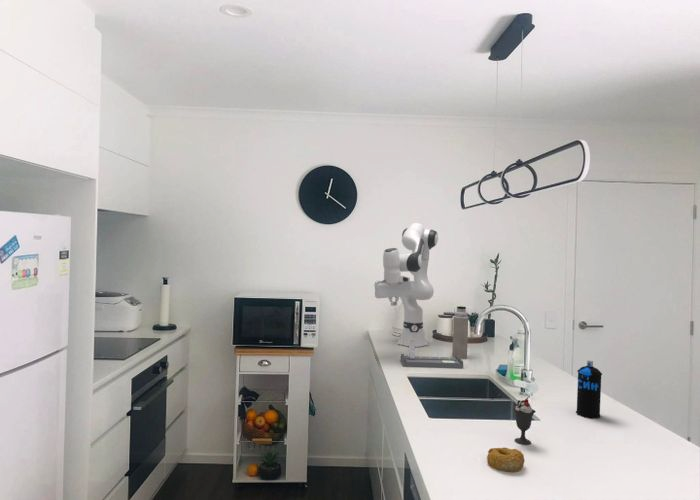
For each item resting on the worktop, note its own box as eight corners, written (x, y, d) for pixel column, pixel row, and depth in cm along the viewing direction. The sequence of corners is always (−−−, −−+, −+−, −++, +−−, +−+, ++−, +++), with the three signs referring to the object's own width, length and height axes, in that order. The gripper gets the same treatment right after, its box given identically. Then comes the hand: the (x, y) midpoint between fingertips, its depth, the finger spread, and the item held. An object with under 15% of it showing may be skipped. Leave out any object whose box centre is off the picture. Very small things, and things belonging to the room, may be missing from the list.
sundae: (532, 448, 146) (533, 398, 145) (509, 442, 149) (511, 394, 149) (536, 440, 151) (538, 393, 151) (514, 435, 155) (516, 389, 155)
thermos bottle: (451, 355, 270) (453, 305, 269) (465, 356, 269) (467, 306, 269) (453, 358, 262) (454, 307, 261) (468, 359, 261) (469, 307, 261)
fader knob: (409, 357, 248) (409, 339, 248) (413, 357, 248) (414, 339, 248) (409, 358, 245) (410, 340, 245) (414, 358, 245) (415, 340, 245)
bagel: (514, 456, 140) (515, 440, 139) (530, 475, 129) (531, 457, 128) (481, 456, 139) (481, 440, 139) (494, 475, 128) (494, 457, 128)
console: (400, 360, 253) (400, 353, 253) (457, 362, 253) (457, 355, 253) (403, 366, 240) (403, 359, 240) (463, 368, 240) (463, 361, 240)
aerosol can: (580, 409, 183) (582, 357, 183) (603, 415, 177) (605, 361, 177) (572, 414, 177) (574, 360, 177) (596, 420, 172) (598, 364, 171)
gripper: (376, 281, 245) (378, 308, 245) (412, 277, 252) (414, 304, 252) (371, 280, 251) (373, 306, 251) (407, 277, 258) (408, 303, 258)
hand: (394, 305), depth 252 cm, fingers closed
